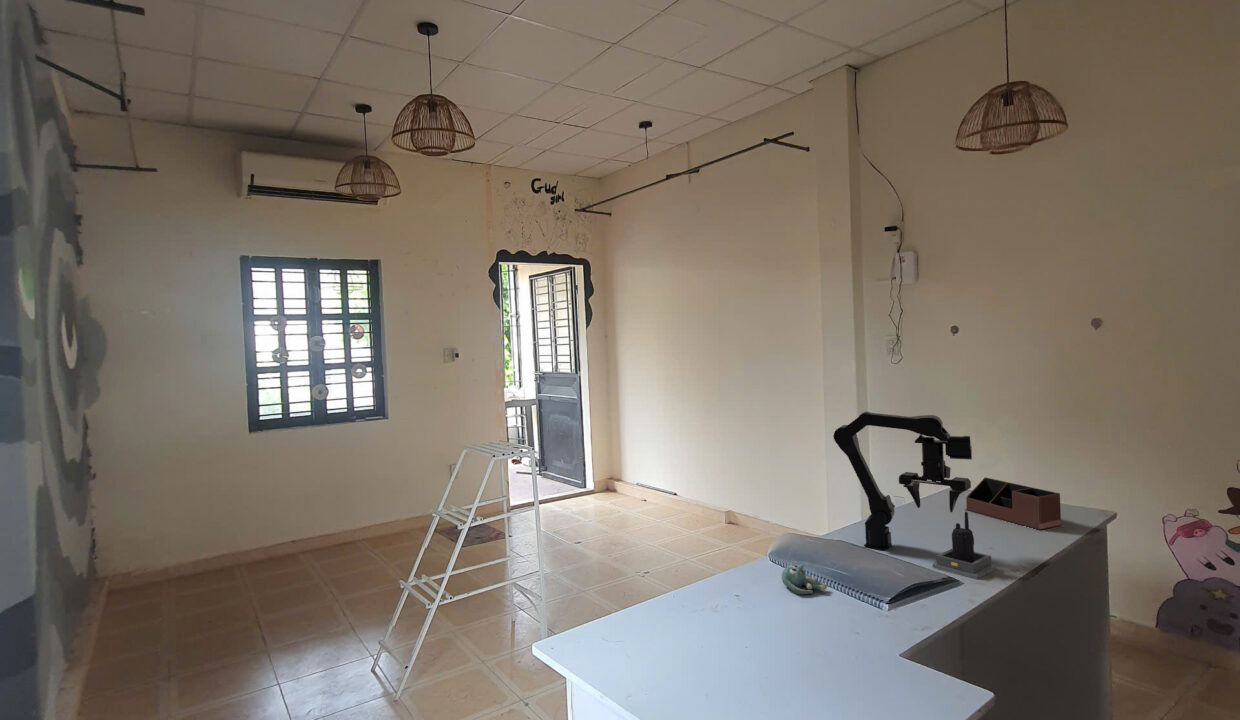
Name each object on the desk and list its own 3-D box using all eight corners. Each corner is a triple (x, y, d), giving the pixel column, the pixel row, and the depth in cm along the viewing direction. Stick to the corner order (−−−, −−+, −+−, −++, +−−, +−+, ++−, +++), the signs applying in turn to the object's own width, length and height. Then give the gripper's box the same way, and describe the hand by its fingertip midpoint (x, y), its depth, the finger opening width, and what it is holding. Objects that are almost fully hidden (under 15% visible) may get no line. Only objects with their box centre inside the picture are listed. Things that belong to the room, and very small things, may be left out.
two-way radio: (976, 564, 176) (974, 511, 176) (972, 569, 173) (970, 515, 172) (954, 560, 180) (952, 508, 179) (950, 565, 177) (948, 512, 176)
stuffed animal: (822, 580, 160) (777, 564, 167) (818, 606, 161) (774, 590, 168) (833, 566, 169) (790, 552, 176) (829, 591, 170) (786, 576, 177)
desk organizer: (1040, 532, 204) (1039, 497, 204) (964, 510, 232) (963, 480, 231) (1064, 527, 207) (1062, 493, 207) (985, 506, 235) (984, 476, 235)
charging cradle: (932, 567, 178) (932, 555, 178) (952, 558, 185) (952, 546, 185) (976, 579, 169) (976, 566, 169) (996, 568, 175) (995, 556, 175)
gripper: (975, 456, 188) (977, 508, 189) (910, 451, 201) (912, 499, 202) (963, 462, 180) (965, 517, 181) (897, 456, 193) (899, 507, 194)
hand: (935, 509), depth 189 cm, fingers open, 9 cm apart
